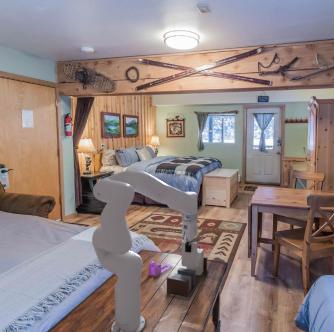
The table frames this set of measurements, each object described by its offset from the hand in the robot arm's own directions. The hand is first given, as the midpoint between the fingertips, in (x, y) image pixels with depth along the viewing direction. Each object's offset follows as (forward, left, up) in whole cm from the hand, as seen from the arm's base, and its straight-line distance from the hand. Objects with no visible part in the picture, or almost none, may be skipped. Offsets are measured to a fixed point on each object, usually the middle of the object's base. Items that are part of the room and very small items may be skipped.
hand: (189, 250), depth 139 cm
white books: (+8, 0, -16) cm, 18 cm away
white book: (0, 0, -8) cm, 8 cm away
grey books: (-8, 0, -16) cm, 18 cm away
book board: (-1, 0, -18) cm, 18 cm away
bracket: (+5, +19, -18) cm, 27 cm away
